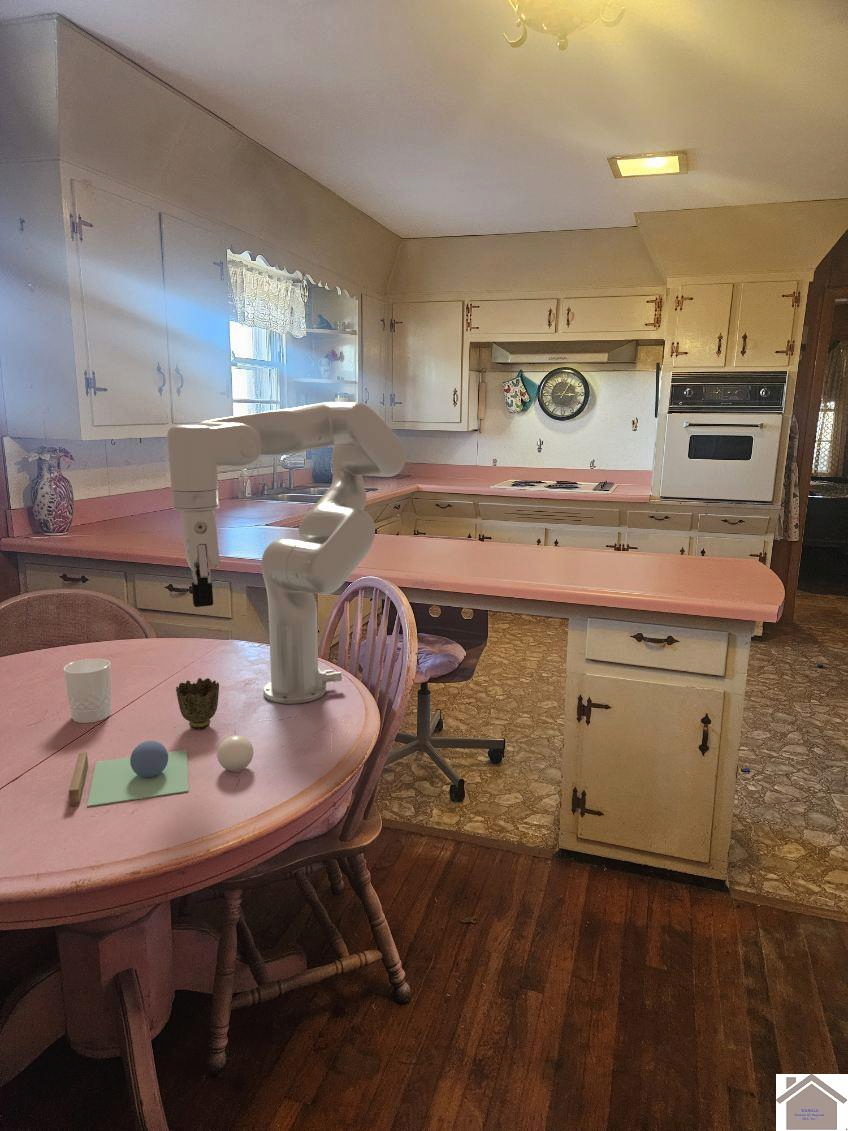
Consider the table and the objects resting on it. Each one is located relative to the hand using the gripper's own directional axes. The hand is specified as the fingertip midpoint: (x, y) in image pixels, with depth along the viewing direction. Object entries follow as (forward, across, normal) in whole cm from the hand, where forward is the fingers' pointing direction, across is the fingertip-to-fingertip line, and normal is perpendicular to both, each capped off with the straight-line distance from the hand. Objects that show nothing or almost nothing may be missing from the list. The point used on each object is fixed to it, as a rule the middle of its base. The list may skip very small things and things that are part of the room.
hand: (203, 604), depth 125 cm
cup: (+24, +1, +2) cm, 24 cm away
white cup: (+23, +14, +20) cm, 34 cm away
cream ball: (+20, -17, -2) cm, 26 cm away
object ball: (+20, -14, +11) cm, 27 cm away
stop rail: (+23, -13, +21) cm, 34 cm away
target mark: (+23, -14, +12) cm, 30 cm away
